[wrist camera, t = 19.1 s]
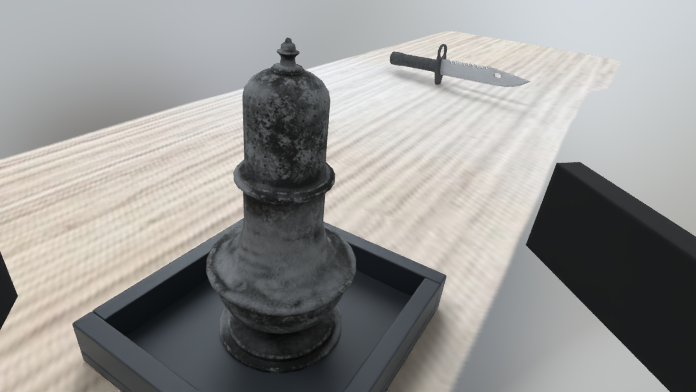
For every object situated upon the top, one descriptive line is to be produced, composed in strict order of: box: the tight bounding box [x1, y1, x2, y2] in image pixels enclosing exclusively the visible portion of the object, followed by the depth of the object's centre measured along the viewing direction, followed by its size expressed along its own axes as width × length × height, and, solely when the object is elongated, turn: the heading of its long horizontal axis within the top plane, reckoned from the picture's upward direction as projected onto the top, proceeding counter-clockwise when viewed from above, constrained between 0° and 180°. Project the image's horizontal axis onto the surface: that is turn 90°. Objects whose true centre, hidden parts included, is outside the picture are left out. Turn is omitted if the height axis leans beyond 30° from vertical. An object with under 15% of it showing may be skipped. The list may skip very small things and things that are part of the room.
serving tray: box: [72, 218, 446, 392], centre depth 19 cm, size 12×11×2 cm
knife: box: [390, 44, 530, 87], centre depth 55 cm, size 19×2×5 cm, turn 51°
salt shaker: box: [206, 38, 356, 373], centre depth 16 cm, size 6×6×12 cm
